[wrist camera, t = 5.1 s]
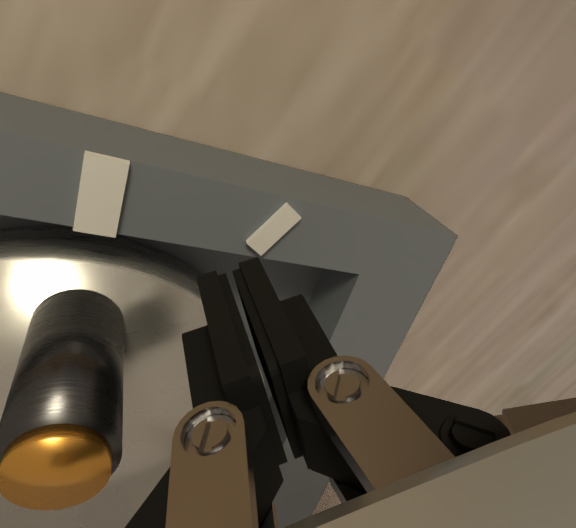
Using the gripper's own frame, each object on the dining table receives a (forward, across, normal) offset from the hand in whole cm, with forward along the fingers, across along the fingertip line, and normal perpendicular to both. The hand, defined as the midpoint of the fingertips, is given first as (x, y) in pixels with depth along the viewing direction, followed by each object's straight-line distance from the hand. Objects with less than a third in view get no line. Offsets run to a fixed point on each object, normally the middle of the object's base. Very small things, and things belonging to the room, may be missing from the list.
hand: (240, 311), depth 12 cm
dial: (+4, +7, +4) cm, 9 cm away
